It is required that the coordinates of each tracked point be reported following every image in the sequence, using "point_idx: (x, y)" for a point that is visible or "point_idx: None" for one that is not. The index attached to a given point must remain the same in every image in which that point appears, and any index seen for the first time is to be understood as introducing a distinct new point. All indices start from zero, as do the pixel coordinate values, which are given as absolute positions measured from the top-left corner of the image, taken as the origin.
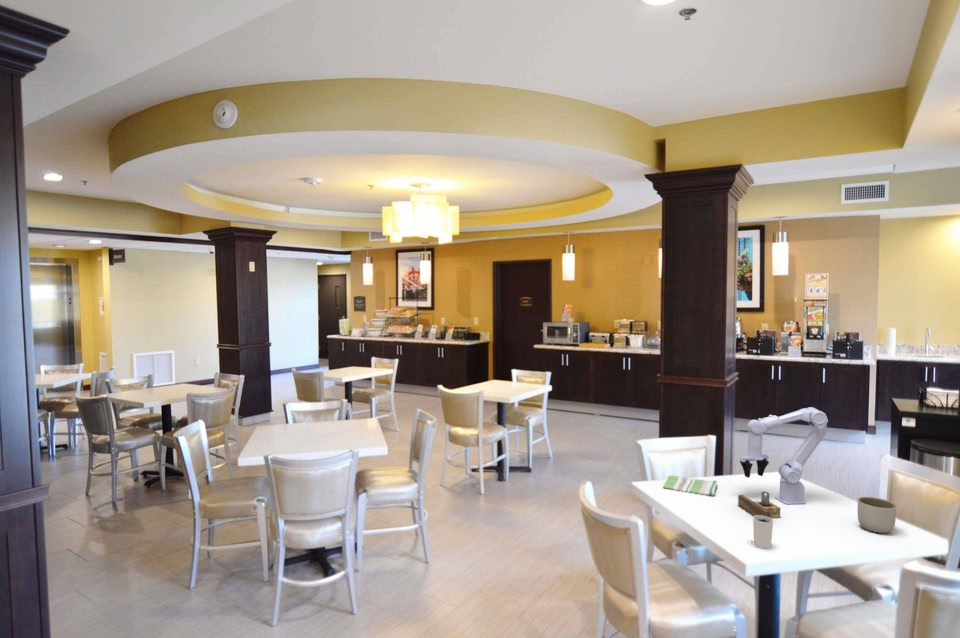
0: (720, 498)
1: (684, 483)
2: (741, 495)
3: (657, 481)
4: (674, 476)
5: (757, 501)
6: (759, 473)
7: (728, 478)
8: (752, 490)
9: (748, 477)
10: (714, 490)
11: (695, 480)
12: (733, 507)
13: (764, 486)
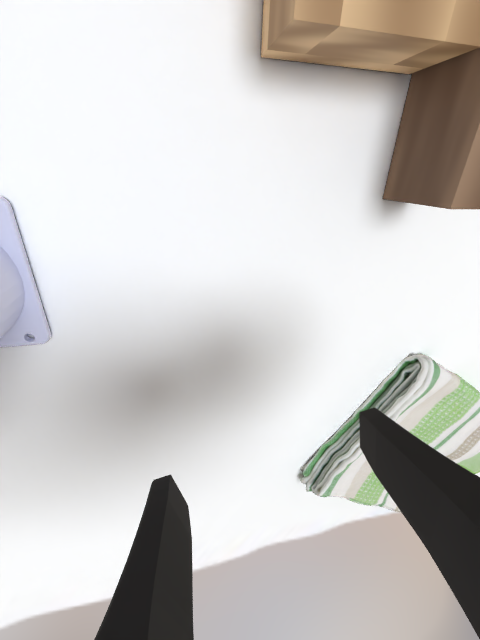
0: (404, 328)
1: None
2: (475, 190)
3: None
4: None
5: (424, 31)
6: (181, 519)
7: None
8: (147, 447)
9: (375, 408)
10: (413, 387)
11: (379, 495)
12: None
13: (37, 507)
